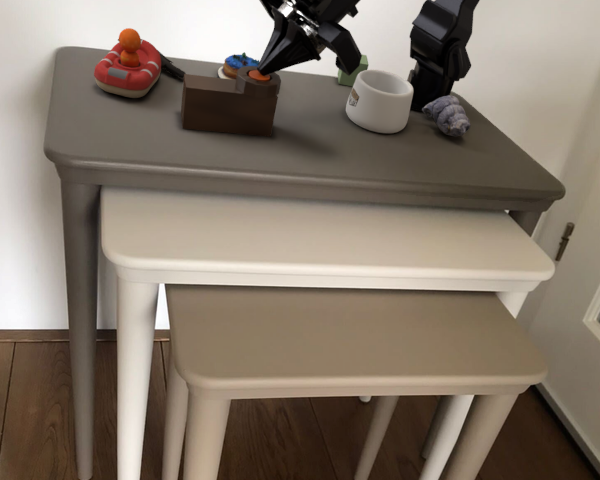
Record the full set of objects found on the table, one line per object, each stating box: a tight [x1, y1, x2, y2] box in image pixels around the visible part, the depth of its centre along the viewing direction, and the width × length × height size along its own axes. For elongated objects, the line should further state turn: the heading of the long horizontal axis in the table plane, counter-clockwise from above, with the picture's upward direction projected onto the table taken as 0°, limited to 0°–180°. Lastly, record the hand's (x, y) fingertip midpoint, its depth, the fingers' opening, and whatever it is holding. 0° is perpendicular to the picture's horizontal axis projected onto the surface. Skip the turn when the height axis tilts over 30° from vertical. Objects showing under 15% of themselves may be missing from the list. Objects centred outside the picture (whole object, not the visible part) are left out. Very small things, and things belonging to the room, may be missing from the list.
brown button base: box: [180, 66, 282, 138], centre depth 89 cm, size 12×6×8 cm, turn 101°
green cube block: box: [337, 54, 369, 88], centre depth 110 cm, size 4×4×4 cm
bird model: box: [117, 38, 187, 79], centre depth 100 cm, size 3×13×3 cm, turn 61°
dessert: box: [217, 52, 260, 80], centre depth 103 cm, size 8×7×6 cm
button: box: [249, 70, 270, 82], centre depth 88 cm, size 3×3×2 cm
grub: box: [421, 94, 472, 137], centre depth 103 cm, size 5×5×10 cm
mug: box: [345, 69, 413, 134], centre depth 101 cm, size 12×10×6 cm
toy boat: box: [93, 27, 162, 99], centre depth 92 cm, size 8×12×8 cm, turn 173°
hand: (259, 72), depth 87 cm, fingers closed, pressing on button
